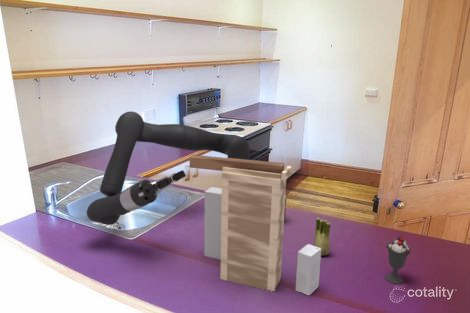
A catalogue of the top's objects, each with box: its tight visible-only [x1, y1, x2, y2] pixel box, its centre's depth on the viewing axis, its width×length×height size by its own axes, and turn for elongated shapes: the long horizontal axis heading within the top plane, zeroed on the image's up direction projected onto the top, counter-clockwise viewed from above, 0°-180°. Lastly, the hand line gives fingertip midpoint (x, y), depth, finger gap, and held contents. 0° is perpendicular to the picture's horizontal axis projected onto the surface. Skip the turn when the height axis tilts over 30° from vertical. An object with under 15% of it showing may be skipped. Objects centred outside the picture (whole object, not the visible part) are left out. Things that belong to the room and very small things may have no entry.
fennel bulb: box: [314, 217, 332, 257], centre depth 117 cm, size 6×5×12 cm
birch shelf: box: [220, 165, 293, 292], centre depth 98 cm, size 7×17×34 cm, turn 69°
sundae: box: [384, 234, 412, 285], centre depth 102 cm, size 7×7×15 cm
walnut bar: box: [188, 154, 285, 174], centre depth 96 cm, size 3×26×3 cm, turn 73°
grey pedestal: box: [204, 186, 222, 261], centre depth 113 cm, size 5×8×22 cm, turn 69°
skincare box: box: [295, 243, 322, 296], centre depth 97 cm, size 6×4×12 cm
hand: (177, 176), depth 104 cm, fingers open, 8 cm apart
